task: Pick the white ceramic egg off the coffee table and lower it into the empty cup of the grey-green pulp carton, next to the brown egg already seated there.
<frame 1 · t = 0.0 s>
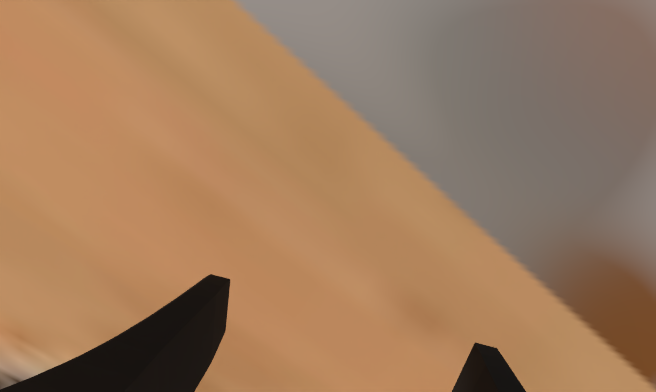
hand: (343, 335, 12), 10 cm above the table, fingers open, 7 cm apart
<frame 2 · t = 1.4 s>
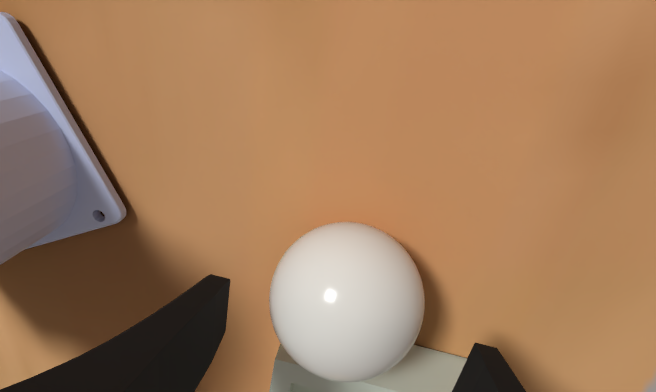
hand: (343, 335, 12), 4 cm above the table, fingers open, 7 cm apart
white egg: (353, 256, 15), on the table
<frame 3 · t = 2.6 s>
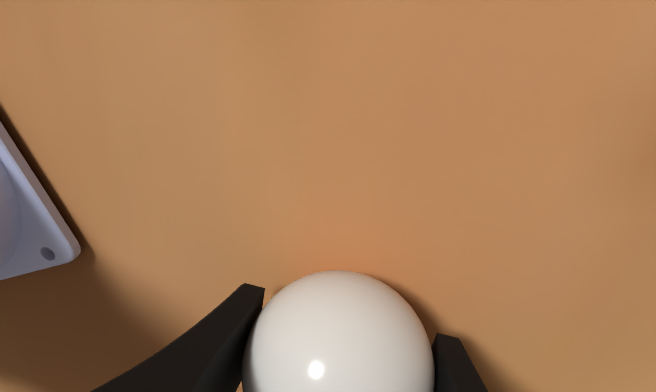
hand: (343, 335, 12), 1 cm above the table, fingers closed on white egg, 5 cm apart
white egg: (348, 304, 13), on the table, touching gripper
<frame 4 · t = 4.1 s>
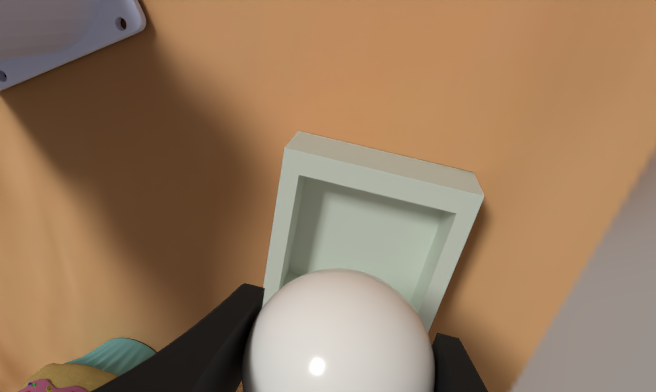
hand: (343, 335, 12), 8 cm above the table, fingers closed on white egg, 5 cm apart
carton: (347, 290, 21), on the table
white egg: (349, 302, 13), point 7 cm above the table, touching gripper
cupcake: (135, 363, 27), on the table
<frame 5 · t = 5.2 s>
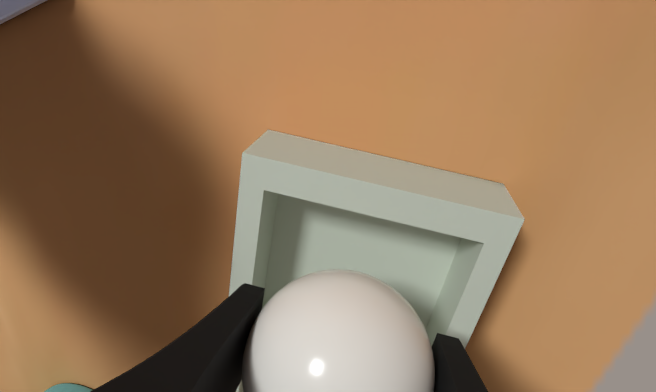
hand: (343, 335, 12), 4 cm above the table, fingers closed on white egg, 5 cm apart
carton: (337, 332, 17), on the table
white egg: (348, 303, 13), point 3 cm above the table, touching gripper
when the fingers open (4 cm above the table, at t = 5.9 s): white egg drops 2 cm, resting on carton.
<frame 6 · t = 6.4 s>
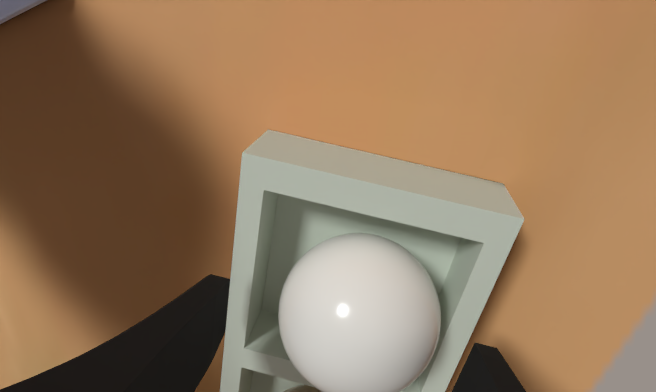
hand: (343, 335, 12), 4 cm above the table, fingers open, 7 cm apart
carton: (337, 332, 17), on the table
white egg: (354, 265, 15), resting on carton, tilted 9°
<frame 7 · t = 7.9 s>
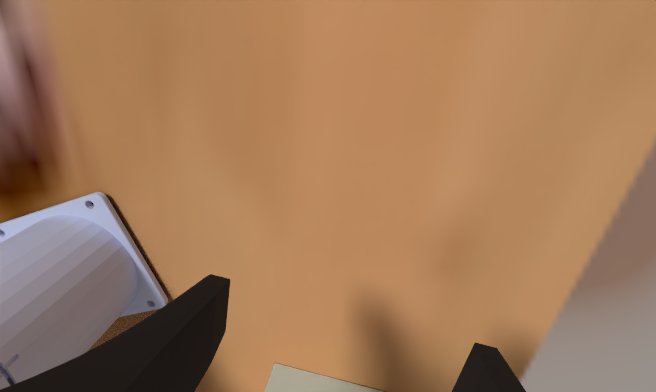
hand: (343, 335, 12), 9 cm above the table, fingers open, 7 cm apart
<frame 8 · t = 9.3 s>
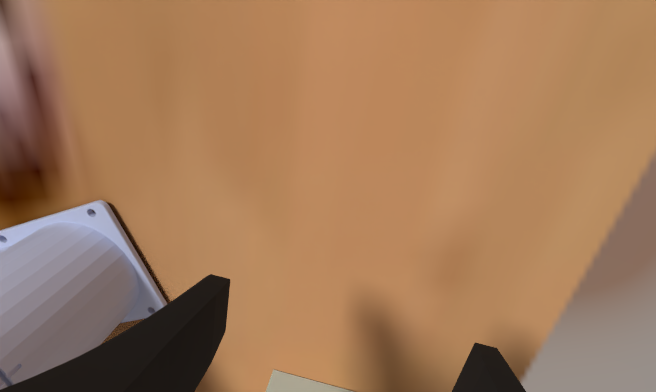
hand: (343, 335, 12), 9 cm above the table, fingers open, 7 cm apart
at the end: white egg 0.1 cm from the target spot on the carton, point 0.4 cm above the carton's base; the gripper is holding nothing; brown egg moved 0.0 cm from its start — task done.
